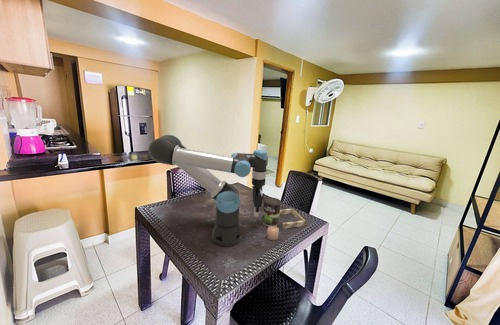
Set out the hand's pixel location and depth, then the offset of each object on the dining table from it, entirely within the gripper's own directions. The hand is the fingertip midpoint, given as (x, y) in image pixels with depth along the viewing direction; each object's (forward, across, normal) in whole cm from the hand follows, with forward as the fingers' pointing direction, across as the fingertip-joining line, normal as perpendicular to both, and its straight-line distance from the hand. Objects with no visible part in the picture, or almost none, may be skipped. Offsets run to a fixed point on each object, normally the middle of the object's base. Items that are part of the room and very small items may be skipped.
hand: (256, 215), depth 122 cm
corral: (+6, 0, -22) cm, 22 cm away
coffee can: (+6, 0, -10) cm, 11 cm away
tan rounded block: (+6, -14, -5) cm, 16 cm away
